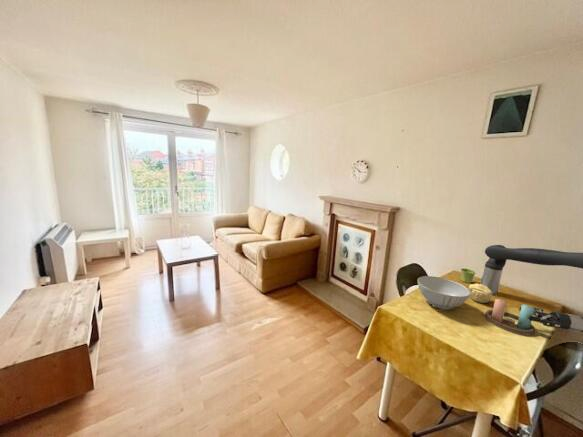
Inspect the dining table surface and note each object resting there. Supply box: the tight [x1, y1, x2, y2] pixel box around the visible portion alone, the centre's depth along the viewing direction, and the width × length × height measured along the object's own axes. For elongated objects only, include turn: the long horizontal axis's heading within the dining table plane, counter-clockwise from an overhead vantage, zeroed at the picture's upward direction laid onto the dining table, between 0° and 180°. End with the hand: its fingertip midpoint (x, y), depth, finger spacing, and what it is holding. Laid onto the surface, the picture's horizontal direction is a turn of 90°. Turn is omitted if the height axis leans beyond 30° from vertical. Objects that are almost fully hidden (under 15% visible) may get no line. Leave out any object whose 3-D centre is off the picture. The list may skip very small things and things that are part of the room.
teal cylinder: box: [516, 304, 535, 330], centre depth 120 cm, size 5×5×12 cm
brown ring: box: [484, 309, 536, 336], centre depth 125 cm, size 19×19×2 cm
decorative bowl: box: [417, 275, 471, 310], centre depth 141 cm, size 27×27×12 cm
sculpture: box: [468, 282, 493, 304], centre depth 148 cm, size 12×12×11 cm
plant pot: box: [460, 267, 477, 284], centre depth 176 cm, size 9×9×9 cm
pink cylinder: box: [490, 298, 508, 324], centre depth 125 cm, size 5×5×12 cm
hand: (524, 313), depth 120 cm, fingers open, 8 cm apart
